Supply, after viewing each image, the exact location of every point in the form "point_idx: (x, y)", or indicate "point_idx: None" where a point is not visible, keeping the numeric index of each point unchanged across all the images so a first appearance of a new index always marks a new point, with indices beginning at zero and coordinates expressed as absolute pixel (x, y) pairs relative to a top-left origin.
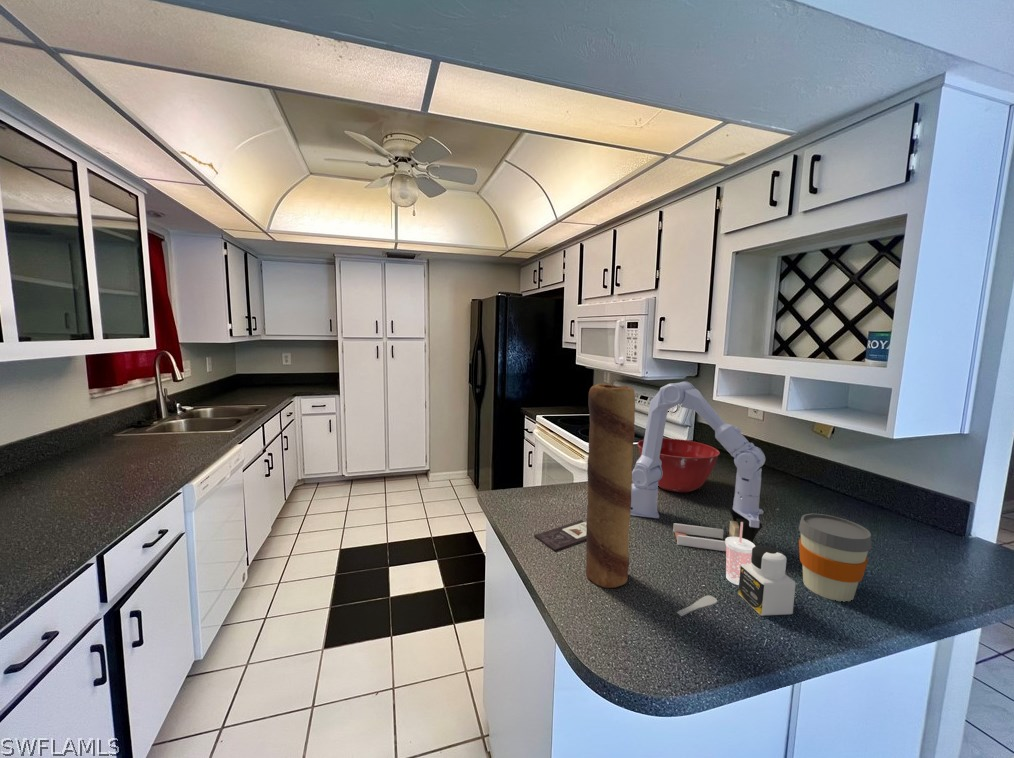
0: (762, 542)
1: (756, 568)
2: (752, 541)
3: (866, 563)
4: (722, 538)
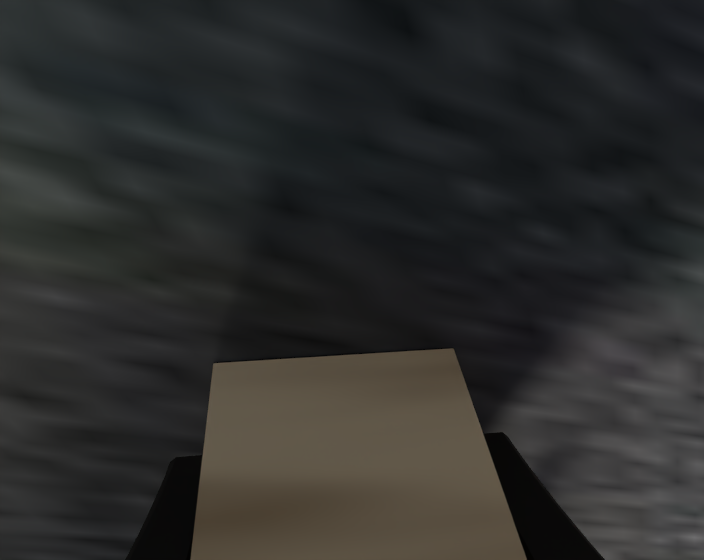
0: (31, 130)
1: None
2: (554, 504)
3: None
4: None
